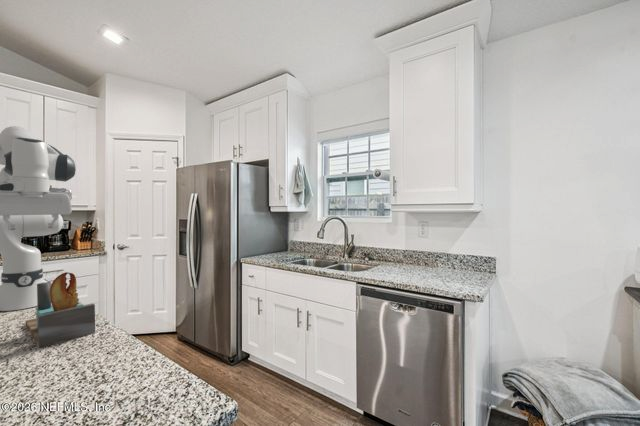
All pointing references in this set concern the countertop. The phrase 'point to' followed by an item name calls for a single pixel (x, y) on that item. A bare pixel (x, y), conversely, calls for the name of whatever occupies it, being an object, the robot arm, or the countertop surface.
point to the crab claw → (63, 292)
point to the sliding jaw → (45, 299)
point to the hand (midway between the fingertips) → (32, 228)
